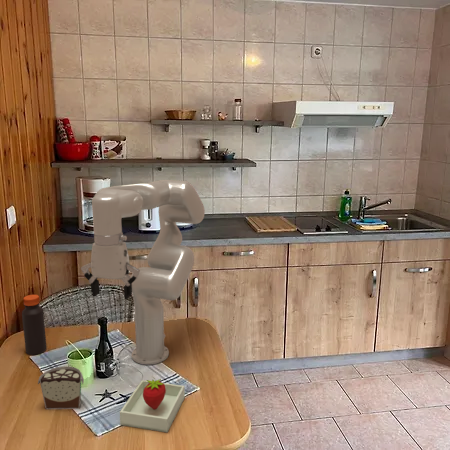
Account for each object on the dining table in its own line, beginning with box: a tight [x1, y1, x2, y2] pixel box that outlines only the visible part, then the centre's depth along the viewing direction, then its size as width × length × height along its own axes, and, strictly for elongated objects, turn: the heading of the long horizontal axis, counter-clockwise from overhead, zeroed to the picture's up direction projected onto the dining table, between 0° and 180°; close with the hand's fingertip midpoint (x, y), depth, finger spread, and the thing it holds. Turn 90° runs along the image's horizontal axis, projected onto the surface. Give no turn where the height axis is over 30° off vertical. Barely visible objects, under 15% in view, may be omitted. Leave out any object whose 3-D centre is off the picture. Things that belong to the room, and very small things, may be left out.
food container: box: [37, 365, 85, 410], centre depth 127 cm, size 12×6×10 cm, turn 92°
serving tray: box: [119, 379, 186, 433], centre depth 125 cm, size 15×13×4 cm
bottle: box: [21, 294, 48, 356], centre depth 154 cm, size 7×7×20 cm
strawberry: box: [143, 376, 166, 410], centre depth 124 cm, size 6×8×10 cm
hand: (111, 296), depth 129 cm, fingers open, 9 cm apart
